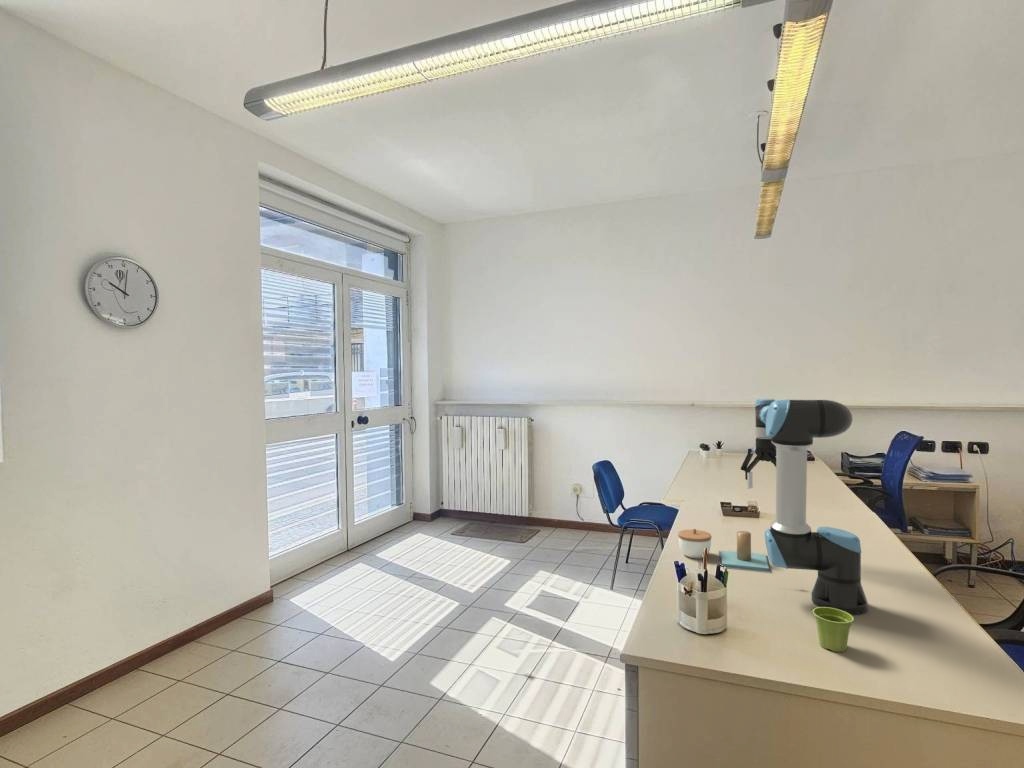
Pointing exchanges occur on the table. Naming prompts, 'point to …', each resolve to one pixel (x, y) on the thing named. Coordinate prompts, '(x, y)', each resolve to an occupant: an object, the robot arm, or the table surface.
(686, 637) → the table surface
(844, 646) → the plant pot
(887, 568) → the table surface
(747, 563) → the cover board
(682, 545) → the lidded bowl
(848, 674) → the table surface
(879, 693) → the table surface
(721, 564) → the mat
